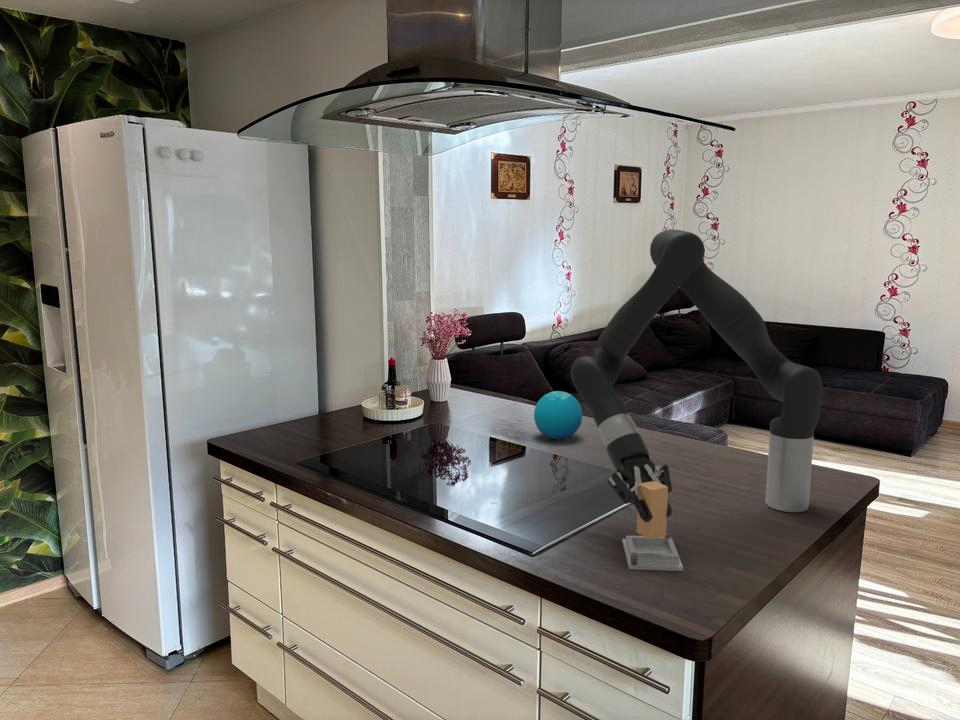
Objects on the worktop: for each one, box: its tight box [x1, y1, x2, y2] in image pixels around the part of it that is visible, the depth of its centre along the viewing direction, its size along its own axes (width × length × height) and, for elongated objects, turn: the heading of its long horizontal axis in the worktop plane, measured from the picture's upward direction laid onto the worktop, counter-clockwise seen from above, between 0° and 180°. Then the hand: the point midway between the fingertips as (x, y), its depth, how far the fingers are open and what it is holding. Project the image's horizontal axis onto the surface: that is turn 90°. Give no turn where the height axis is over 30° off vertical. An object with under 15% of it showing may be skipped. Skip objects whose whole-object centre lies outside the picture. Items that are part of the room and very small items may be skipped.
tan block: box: [636, 481, 669, 540], centre depth 137 cm, size 4×4×10 cm
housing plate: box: [621, 532, 684, 572], centre depth 138 cm, size 12×10×3 cm
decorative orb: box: [533, 390, 583, 440], centre depth 219 cm, size 15×15×15 cm
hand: (658, 517), depth 135 cm, fingers closed on tan block, 4 cm apart
